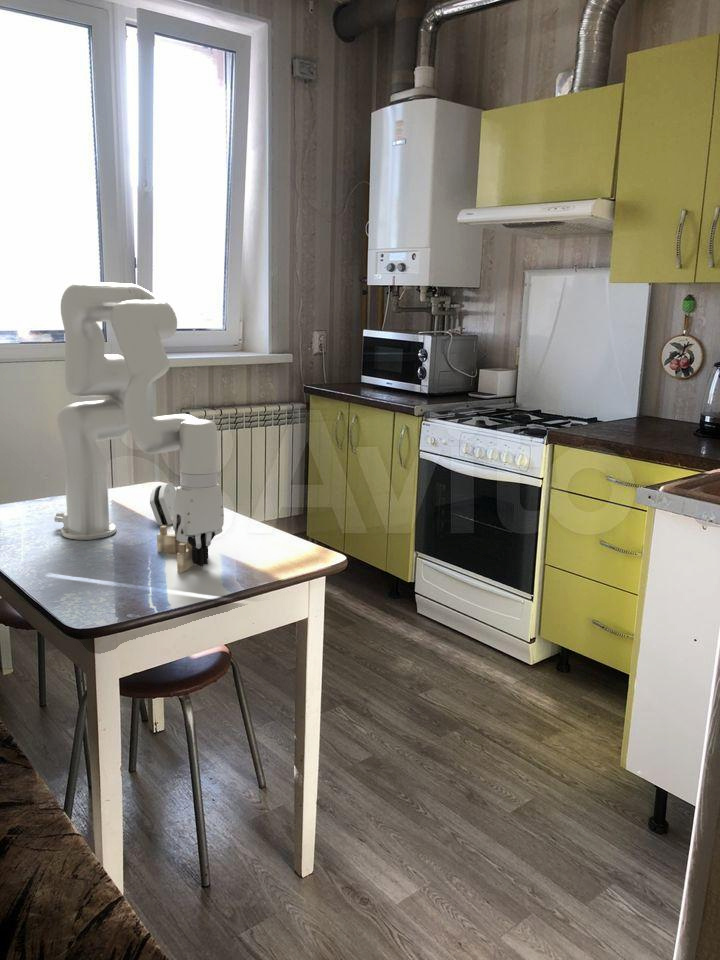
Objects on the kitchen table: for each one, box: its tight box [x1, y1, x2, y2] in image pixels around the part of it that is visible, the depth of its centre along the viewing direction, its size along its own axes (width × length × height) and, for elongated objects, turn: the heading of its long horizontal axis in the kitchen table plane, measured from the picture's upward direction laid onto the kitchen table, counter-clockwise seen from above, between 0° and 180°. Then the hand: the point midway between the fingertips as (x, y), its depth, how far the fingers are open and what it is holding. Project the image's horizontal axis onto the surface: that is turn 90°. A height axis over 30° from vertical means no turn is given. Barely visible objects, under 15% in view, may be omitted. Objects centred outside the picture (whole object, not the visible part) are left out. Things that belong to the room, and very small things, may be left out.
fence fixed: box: [156, 525, 187, 555], centre depth 177 cm, size 12×2×6 cm, turn 75°
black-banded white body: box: [149, 482, 176, 526], centre depth 205 cm, size 17×5×10 cm, turn 4°
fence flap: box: [176, 542, 196, 574], centre depth 170 cm, size 10×1×6 cm, turn 165°
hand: (200, 563), depth 168 cm, fingers closed
